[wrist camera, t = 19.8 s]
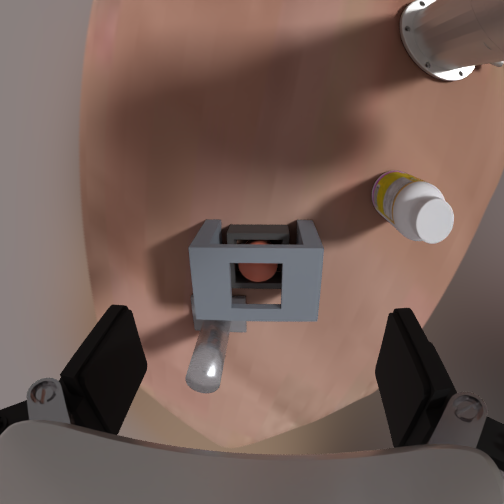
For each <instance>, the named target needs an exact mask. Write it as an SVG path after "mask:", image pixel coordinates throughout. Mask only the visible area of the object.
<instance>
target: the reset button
mask: <svg viewBox="0 0 504 504" xmlns="http://www.w3.org/2000/svg"><path fill="white" fill-rule="evenodd" d="M245 244H272V243H271V242H270V241H268V240H249V241H247V242H246V243H245ZM239 269H240V272H241V273H242V275H243V276H244V277H246V278H247V279H249V280H251V281H255V282H262V281H266V280H268V279H270V278H271V277H272V276H273V275H274V274H275V272H276V270H277V263H239Z"/></svg>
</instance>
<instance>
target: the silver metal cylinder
mask: <svg viewBox="0 0 504 504" xmlns="http://www.w3.org/2000/svg"><path fill="white" fill-rule="evenodd" d="M231 322H232V321H227V320H203V323H202V327H201V330H200V333H199V336H198V339H197V342H196V346H195V349H194V352H193V355H192V358H191V362H190V365H189V368H188V371H187V375H186V383H187V384H188V386H189V387H190V388H192V389H193V390H195V391H197V392H200V393H212V392H214V391H216V390H217V389H218V388H219V386H220V381H221V376H222V370H223V365H224V360H225V354H226V349H227V343H228V338H229V333H230V327H231Z"/></svg>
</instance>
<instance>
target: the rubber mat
mask: <svg viewBox="0 0 504 504" xmlns="http://www.w3.org/2000/svg"><path fill="white" fill-rule="evenodd" d="M191 304H192V312H193V320H194V328H195V330H199V331H200V330H201V327H202V323H203V320H200V319H196V313H195V304H194V296H193V295H191ZM232 304H246V296H232ZM246 329H247V328H246V321H232V322H231V327H230V332H246Z"/></svg>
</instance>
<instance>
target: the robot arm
mask: <svg viewBox="0 0 504 504" xmlns="http://www.w3.org/2000/svg"><path fill="white" fill-rule="evenodd" d="M405 29H406V30H405ZM400 34H401V39H402V41H403V44H404V47H405V48H406V50H407V52H408V54H409V55H410V57H411V58H412V59H413V61H414V62H415V63H416V64H417V65H418V66H419V67H420V68H421V69H422V70H424V71H425V72H426V73H427V74H429V75H431V76H433V77H435V78H437V79H440V80H444V81H456V80H461V79H463V78H465V77H467V76H468V75H469V74H470V73H471V72H472V71H473V69H474V68H475V66H477V65H482V64H488V63H490V64H492V65H494V66H497V67H501V66H502V64H503V61H504V0H416V1H414V2H412V3H410V4H409V5H408V6H407V7H406V8H405V9H404V11H403V13H402V15H401V18H400ZM425 65H426V66H425ZM146 371H147V361H146V358H145V354H144V351H143V348H142V345H141V341H140V338H139V335H138V331H137V328H136V324H135V320H134V317H133V313H132V311H131V310H129V309H128V307H127V306H125V305H111V306H110V307H109V308H108V310H107V311H106V312H105V314H104V315H103V316H102V318H101V319H100V320H99V322H98V323H97V324H96V326H95V327H94V328H93V330H92V331H91V332H90V334H89V335H88V336H87V338H86V339H85V340H84V342H83V343H82V345H81V346H80V347H79V349H78V350H77V352H76V353H75V354H74V355H73V357H72V358H71V360H70V361H69V362H68V364H67V365H66V367H65V368H64V370H63V371H62V373H61V374H60V376H61V378H60V380H59V381H57V380H56V379H53V378H44V379H40V380H38V381H36V382H35V383H34V384H32V385H31V387H30V388H29V390H28V392H27V400H26V401H23V402H21V403H18V404H16V405H13V406H10V407H7V408H4V409H2V410H0V504H504V424H502V423H500V422H497V421H495V420H493V419H491V418H489V417H487V407H486V404H485V403H484V401H483V399H481V398H480V397H479V396H478V395H476V394H474V393H471V392H459V393H457V392H456V390H455V388H454V386H453V383H452V381H451V379H450V377H449V375H448V373H447V371H446V369H445V367H444V365H443V363H442V361H441V359H440V357H439V355H438V353H437V351H436V349H435V347H434V346H433V344H432V343H431V342H429V341H428V339H427V337H426V335H425V334H424V332H423V330H422V328H421V326H420V324H419V322H418V321H417V319H416V317H415V315H414V313H413V311H412V310H411V309H410V308H398V309H394V311H393V313H390V314H389V316H388V320H387V324H386V329H385V333H384V337H383V341H382V345H381V349H380V353H379V357H378V361H377V364H376V368H375V376H376V380H377V383H378V387H379V391H380V394H381V398H382V402H383V406H384V409H385V413H386V417H387V421H388V425H389V429H390V434H391V438H392V442H393V446H394V448H389V449H380V450H372V451H360V452H348V453H332V454H308V455H272V454H271V455H270V454H246V453H231V452H219V451H209V450H200V449H192V448H184V447H177V446H171V445H164V444H158V443H153V442H147V441H142V440H137V439H132V438H128V437H123V436H118V435H117V434H118V433H119V430H120V428H121V426H122V424H123V421H124V419H125V417H126V415H127V412H128V410H129V408H130V406H131V403H132V401H133V399H134V397H135V394H136V392H137V390H138V388H139V386H140V384H141V382H142V379H143V377H144V375H145V373H146Z"/></svg>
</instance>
